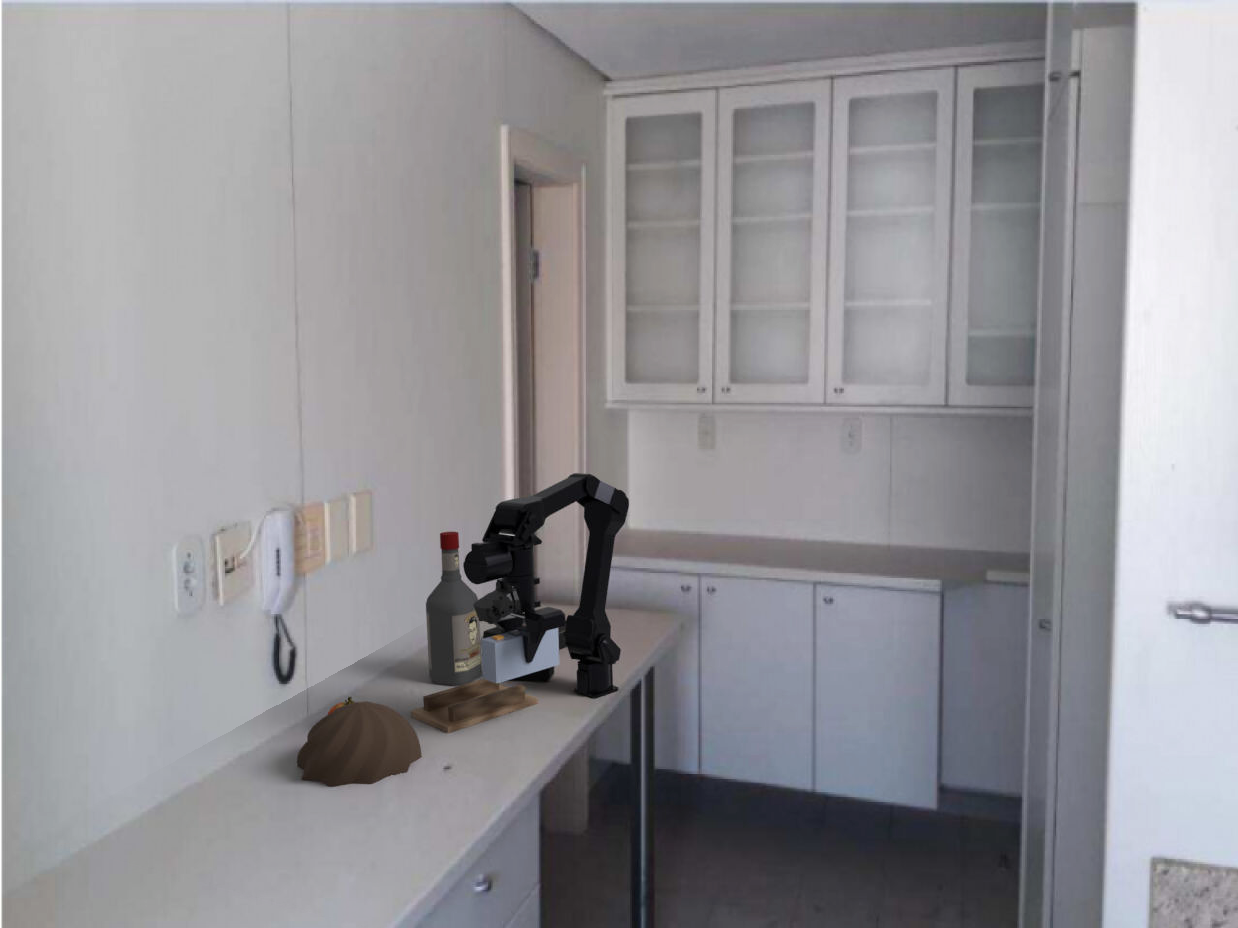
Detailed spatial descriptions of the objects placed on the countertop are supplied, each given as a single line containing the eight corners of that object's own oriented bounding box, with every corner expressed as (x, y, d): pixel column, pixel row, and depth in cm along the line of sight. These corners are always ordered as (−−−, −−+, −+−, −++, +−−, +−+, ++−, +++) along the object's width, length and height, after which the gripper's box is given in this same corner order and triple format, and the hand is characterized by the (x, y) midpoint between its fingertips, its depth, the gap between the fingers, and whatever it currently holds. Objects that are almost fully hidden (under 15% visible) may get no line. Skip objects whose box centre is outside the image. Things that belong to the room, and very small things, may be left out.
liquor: (424, 683, 201) (416, 536, 198) (448, 669, 210) (441, 528, 206) (463, 687, 198) (456, 538, 194) (486, 673, 206) (480, 530, 203)
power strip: (545, 660, 183) (543, 620, 182) (559, 664, 180) (558, 624, 179) (482, 678, 173) (480, 636, 173) (496, 683, 171) (494, 641, 170)
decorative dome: (440, 743, 170) (437, 686, 169) (385, 793, 151) (382, 729, 150) (338, 735, 175) (335, 680, 174) (272, 782, 156) (268, 720, 155)
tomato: (386, 713, 180) (360, 691, 176) (368, 748, 176) (342, 726, 172) (356, 712, 185) (331, 691, 181) (338, 746, 181) (312, 725, 177)
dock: (499, 688, 196) (498, 671, 196) (537, 703, 188) (537, 685, 187) (410, 716, 183) (410, 697, 182) (448, 732, 174) (447, 713, 174)
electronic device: (549, 682, 199) (547, 633, 198) (501, 680, 201) (499, 632, 200) (554, 675, 204) (553, 628, 202) (507, 674, 206) (505, 626, 204)
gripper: (449, 573, 176) (453, 659, 178) (514, 589, 163) (517, 682, 164) (500, 563, 184) (503, 646, 185) (566, 577, 170) (569, 666, 172)
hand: (521, 659), depth 177 cm, fingers closed on power strip, 4 cm apart
